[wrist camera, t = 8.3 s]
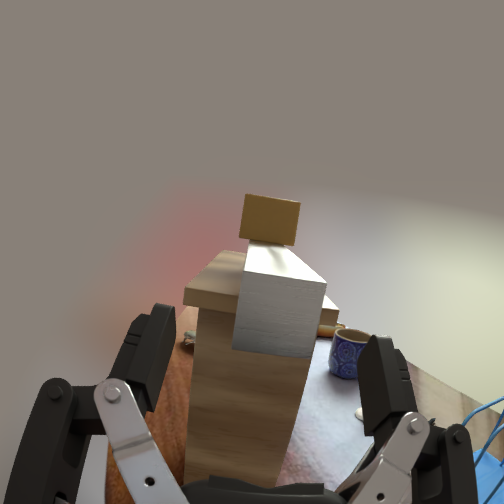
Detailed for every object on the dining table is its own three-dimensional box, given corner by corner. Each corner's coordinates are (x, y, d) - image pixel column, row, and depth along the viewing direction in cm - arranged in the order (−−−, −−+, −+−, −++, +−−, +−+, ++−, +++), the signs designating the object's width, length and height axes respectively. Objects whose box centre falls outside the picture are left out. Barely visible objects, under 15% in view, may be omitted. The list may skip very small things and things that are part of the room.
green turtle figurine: (178, 351, 75) (183, 333, 76) (181, 342, 86) (186, 326, 87) (212, 360, 76) (217, 342, 77) (211, 350, 87) (216, 334, 88)
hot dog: (345, 340, 105) (348, 326, 105) (310, 337, 104) (313, 323, 103) (340, 335, 110) (343, 322, 110) (306, 332, 109) (309, 319, 108)
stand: (260, 553, 23) (339, 309, 20) (172, 542, 23) (184, 286, 20) (258, 437, 48) (293, 260, 45) (200, 428, 48) (222, 250, 44)
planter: (338, 384, 71) (350, 343, 70) (317, 365, 81) (326, 328, 80) (371, 379, 75) (382, 341, 74) (349, 363, 85) (358, 327, 84)
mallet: (335, 362, 11) (371, 176, 11) (203, 345, 11) (231, 150, 11) (283, 270, 34) (294, 205, 33) (236, 263, 34) (246, 197, 33)
